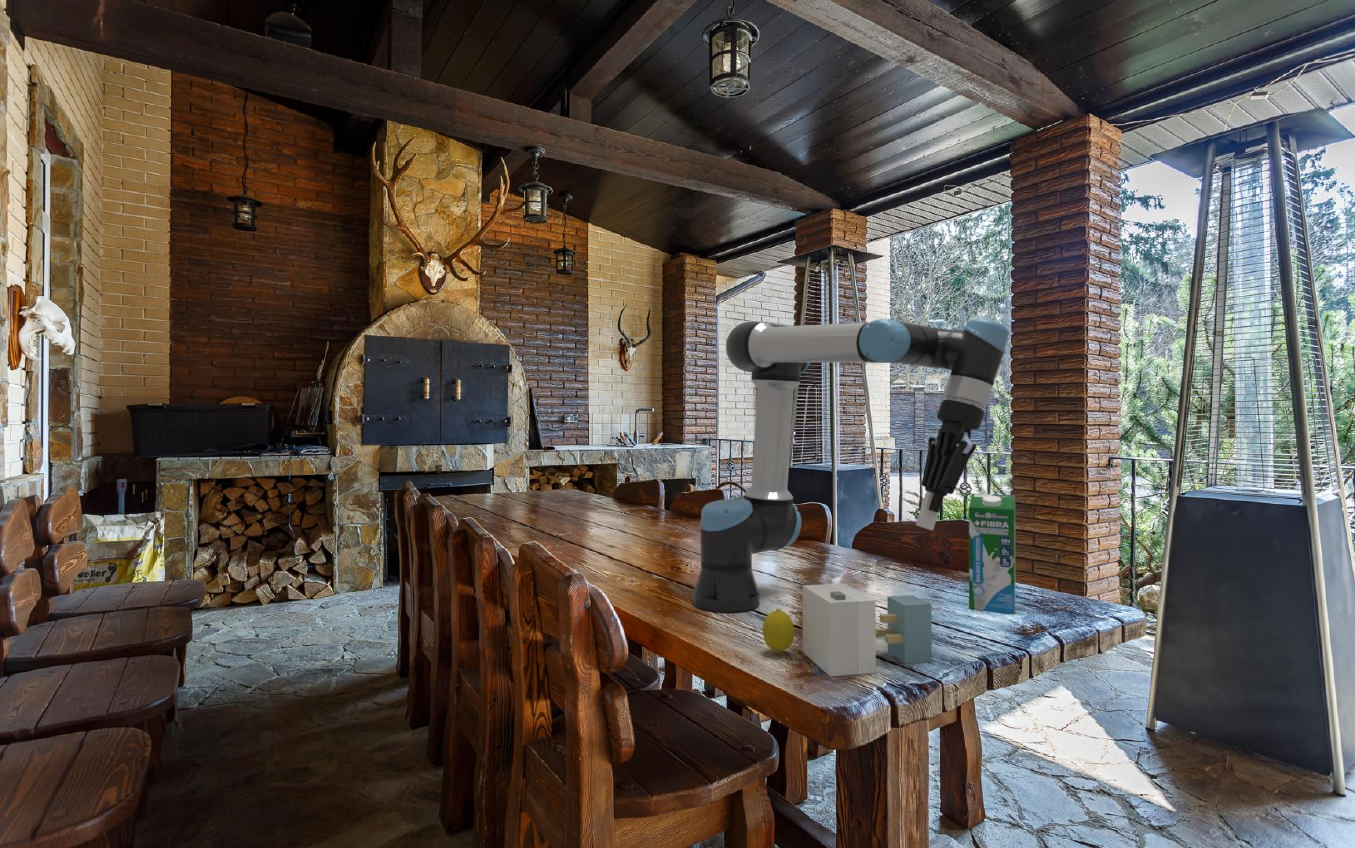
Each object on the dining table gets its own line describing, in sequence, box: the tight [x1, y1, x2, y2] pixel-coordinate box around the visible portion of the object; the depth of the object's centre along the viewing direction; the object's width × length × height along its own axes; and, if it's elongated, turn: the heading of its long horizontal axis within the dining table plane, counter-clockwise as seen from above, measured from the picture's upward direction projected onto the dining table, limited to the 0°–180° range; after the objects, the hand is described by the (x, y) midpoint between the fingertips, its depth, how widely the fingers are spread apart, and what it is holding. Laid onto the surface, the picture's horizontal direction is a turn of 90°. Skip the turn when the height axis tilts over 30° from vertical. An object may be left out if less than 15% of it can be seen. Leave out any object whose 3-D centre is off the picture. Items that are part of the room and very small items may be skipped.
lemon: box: [762, 608, 795, 655], centre depth 120 cm, size 6×6×8 cm
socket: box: [802, 583, 877, 678], centre depth 116 cm, size 12×8×13 cm, turn 11°
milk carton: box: [968, 492, 1016, 615], centre depth 151 cm, size 9×9×25 cm
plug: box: [876, 594, 933, 665], centre depth 118 cm, size 6×8×10 cm
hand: (924, 527), depth 122 cm, fingers closed
